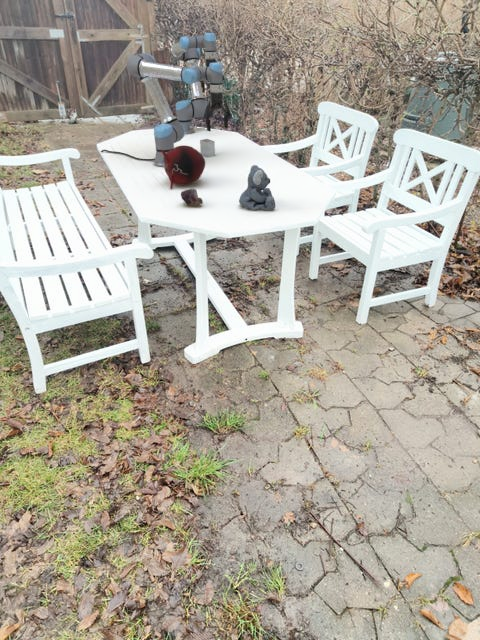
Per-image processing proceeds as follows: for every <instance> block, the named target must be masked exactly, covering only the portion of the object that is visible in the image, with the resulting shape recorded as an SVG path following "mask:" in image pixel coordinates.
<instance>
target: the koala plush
mask: <svg viewBox="0 0 480 640" xmlns="http://www.w3.org/2000/svg"><path fill="white" fill-rule="evenodd" d="M270 183H271V178H269V176H268V175H267V173H266V172H265V170H264V169H263V168H261V167H259V165H257V164H253V165H250V170H249V173H248V176H247V188H246V189H245V190H244V191H243V192H242V193H241V194H240V197H239V199H238V203H239V204H240V206H241V207H242V208H246V209H247V210H252V211H255V210H261V211H272V210H274V209H275V208H276V200H275V198H274V196H273V194H272V191H271V188H270V187H268V186H269V185H270Z"/></svg>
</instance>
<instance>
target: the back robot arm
mask: <svg viewBox="0 0 480 640" xmlns="http://www.w3.org/2000/svg"><path fill="white" fill-rule="evenodd" d="M216 46H217V45H216V34H215V33H214V32H205V33H204V35H189V36H188V35H184V36H180V38H179V41H178V42H176V43H175V42H174V43H173V44H171V46H170V48H169V54H170V56H171V57H172V59H174V60H176V61H180V62H181V61H184V64H185V65H186V68H191V67H192V66H199V63H200V60H201V58H202V55H201V54H202V53H201V49H204V55H205V67H209V65H210V63H217V51H216V49H217V48H216ZM223 81H225V77H224V74H223V73H222V82H223ZM189 87H190V92H191V99H190V100H189V99H186V100H185V99H183V100H180V101H177V102H176V103H175V112H176V113H175V114H176V115H175V117H177V119H178V122H180V123H182V124H183V126H184V128H185V135H190V134H193V133H194V132H195V129H194V128H195V127H196V123H192V119H194V118H196V119H197V118H203V115H204V112H205V109H206V106H207V102H208V100H206V98H205V97H204V95H203V93H206V88H205V81H198V82H195V83H193V84H189Z"/></svg>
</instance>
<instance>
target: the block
mask: <svg viewBox="0 0 480 640" xmlns="http://www.w3.org/2000/svg"><path fill="white" fill-rule="evenodd" d="M215 143H216V142H215V140H212V139H209V138H204V139H199V145H200V146H199V147H200V154H201V155H202V156H203V157H204V156H205V157H207V158H209V157H214V156H216V145H215Z"/></svg>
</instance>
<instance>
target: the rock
mask: <svg viewBox="0 0 480 640" xmlns="http://www.w3.org/2000/svg"><path fill="white" fill-rule="evenodd" d="M180 197H181V200H182V201H183V202H184V203H185V205H187V206H189V207H191V206H192V207H193V206H201V205H203V204H204V202H203V199H202V197H199V195H198V190H197V189H196V188H188V189H185V190H181V192H180Z"/></svg>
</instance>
